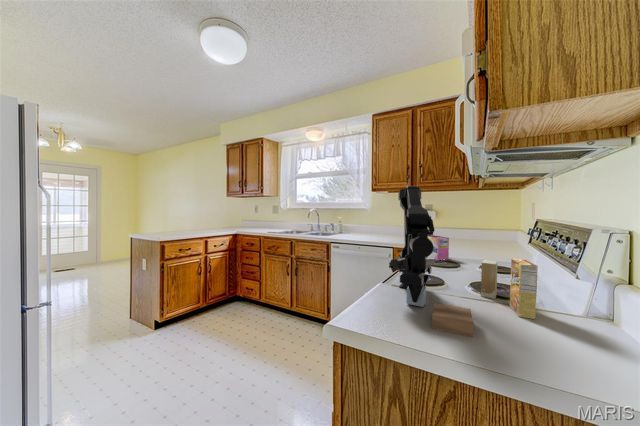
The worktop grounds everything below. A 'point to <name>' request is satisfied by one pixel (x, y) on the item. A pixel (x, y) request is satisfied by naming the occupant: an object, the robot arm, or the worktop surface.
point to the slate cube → (421, 298)
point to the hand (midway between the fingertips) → (416, 299)
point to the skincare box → (489, 279)
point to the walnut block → (452, 319)
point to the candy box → (523, 288)
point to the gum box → (439, 247)
